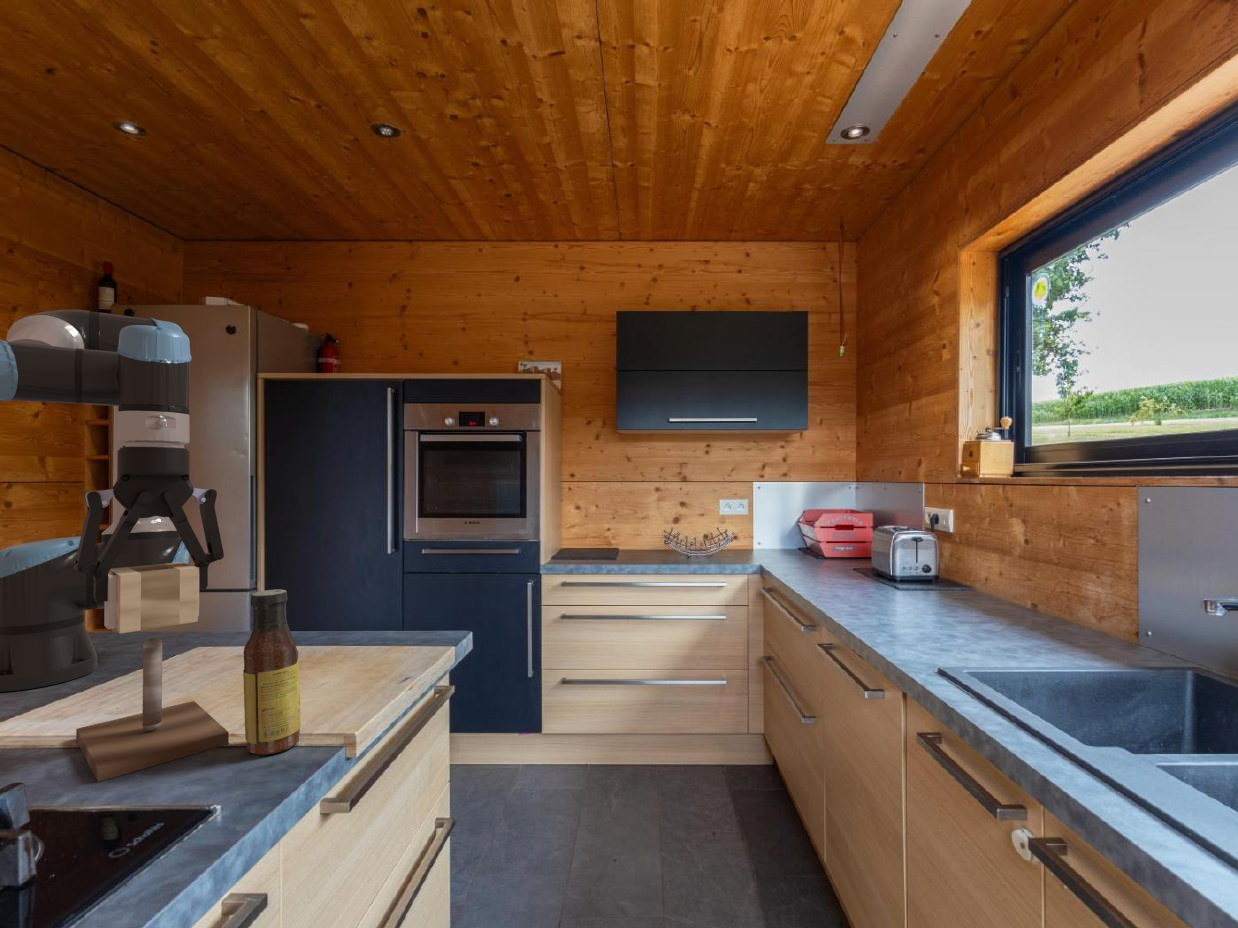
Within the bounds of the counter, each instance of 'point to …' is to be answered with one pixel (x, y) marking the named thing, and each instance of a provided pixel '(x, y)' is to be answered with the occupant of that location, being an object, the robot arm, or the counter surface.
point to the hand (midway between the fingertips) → (153, 620)
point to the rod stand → (149, 729)
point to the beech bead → (155, 596)
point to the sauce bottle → (271, 678)
